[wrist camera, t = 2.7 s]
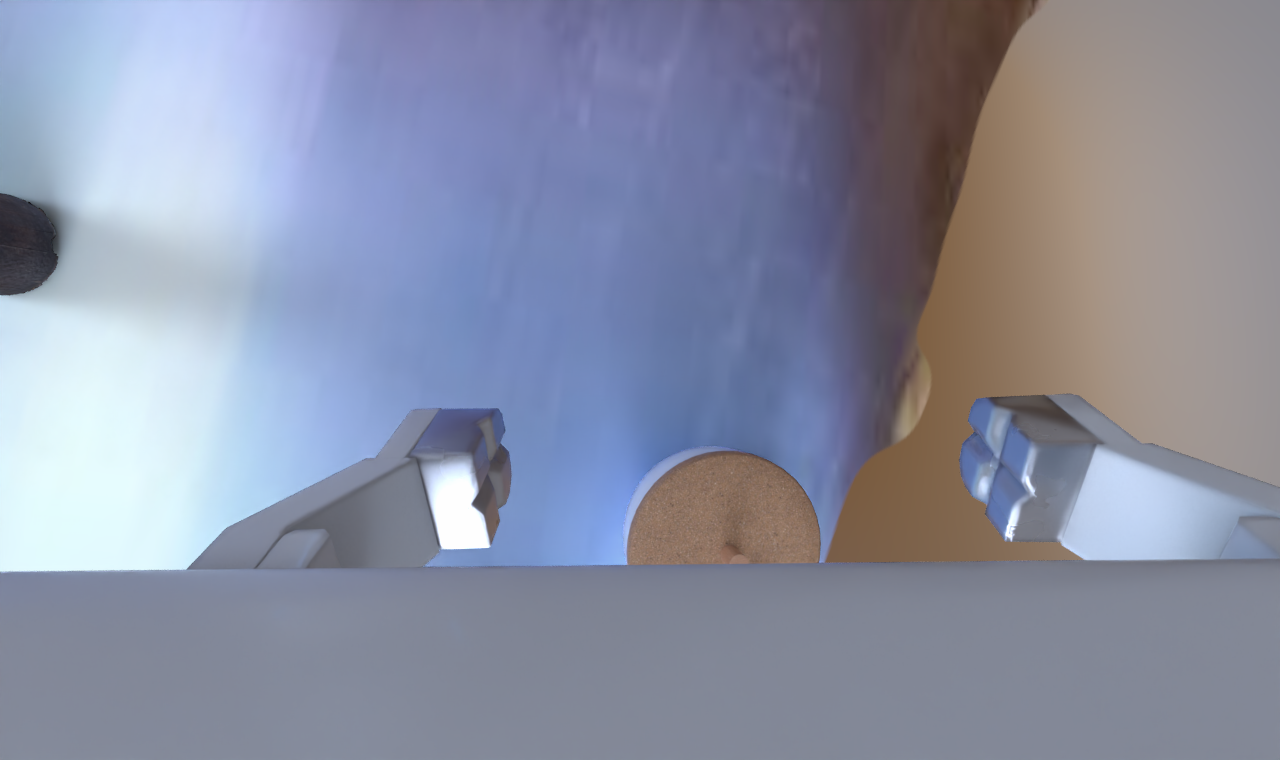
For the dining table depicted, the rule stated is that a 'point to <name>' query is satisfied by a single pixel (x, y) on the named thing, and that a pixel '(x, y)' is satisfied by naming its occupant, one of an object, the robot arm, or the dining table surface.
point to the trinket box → (719, 512)
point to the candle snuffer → (24, 246)
